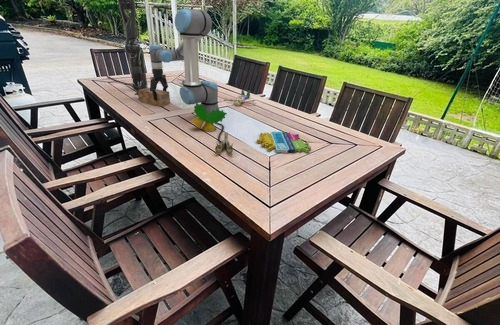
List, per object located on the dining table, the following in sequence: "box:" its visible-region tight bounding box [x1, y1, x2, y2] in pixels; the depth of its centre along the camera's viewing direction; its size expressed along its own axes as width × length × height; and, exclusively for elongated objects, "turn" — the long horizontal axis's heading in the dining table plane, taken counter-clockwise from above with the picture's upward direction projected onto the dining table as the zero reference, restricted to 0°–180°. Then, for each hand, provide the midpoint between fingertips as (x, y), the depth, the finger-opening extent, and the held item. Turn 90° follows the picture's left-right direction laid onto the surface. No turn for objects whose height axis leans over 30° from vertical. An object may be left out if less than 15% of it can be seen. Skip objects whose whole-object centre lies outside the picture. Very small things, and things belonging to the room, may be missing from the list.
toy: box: [223, 89, 257, 106], centre depth 219 cm, size 28×7×30 cm
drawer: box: [133, 91, 140, 101], centre depth 204 cm, size 25×9×7 cm, turn 66°
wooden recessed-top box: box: [139, 87, 171, 107], centre depth 202 cm, size 20×10×9 cm, turn 66°
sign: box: [256, 131, 312, 154], centre depth 152 cm, size 26×2×30 cm
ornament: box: [191, 102, 228, 132], centre depth 162 cm, size 21×8×15 cm, turn 105°
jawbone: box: [214, 131, 234, 156], centre depth 136 cm, size 9×15×10 cm
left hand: (139, 94), depth 207 cm, fingers closed
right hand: (160, 98), depth 200 cm, fingers closed on wooden recessed-top box, 10 cm apart
